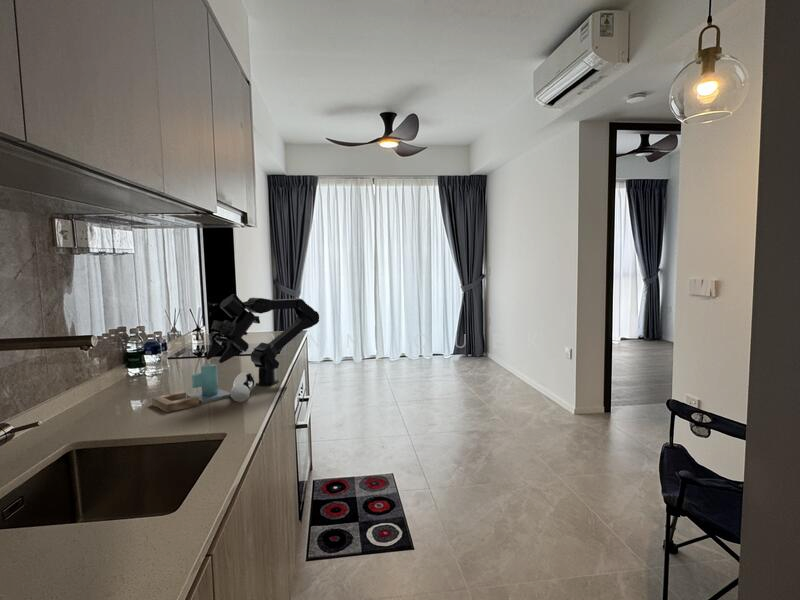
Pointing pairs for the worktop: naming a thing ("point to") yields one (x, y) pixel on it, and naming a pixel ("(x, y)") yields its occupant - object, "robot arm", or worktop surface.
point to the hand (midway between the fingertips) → (213, 360)
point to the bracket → (174, 401)
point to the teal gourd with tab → (206, 380)
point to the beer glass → (242, 387)
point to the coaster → (206, 399)
